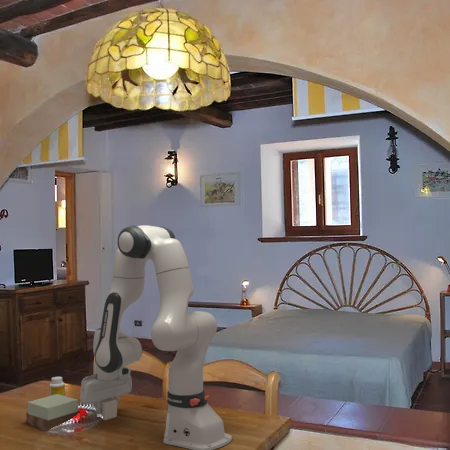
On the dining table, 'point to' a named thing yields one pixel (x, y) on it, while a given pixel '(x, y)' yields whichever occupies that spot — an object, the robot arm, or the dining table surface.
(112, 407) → the cream block
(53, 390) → the supplement bottle
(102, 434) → the dining table surface
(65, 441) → the dining table surface
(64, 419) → the tower base
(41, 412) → the tower top
